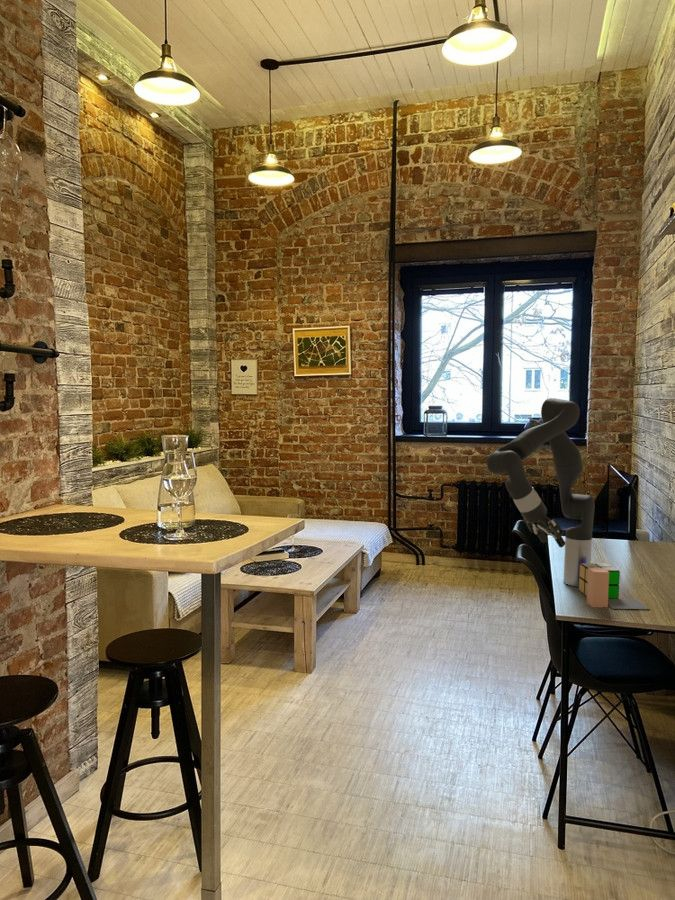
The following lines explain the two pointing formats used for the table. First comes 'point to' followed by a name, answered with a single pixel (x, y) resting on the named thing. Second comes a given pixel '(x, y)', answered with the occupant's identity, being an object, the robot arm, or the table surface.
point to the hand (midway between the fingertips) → (553, 543)
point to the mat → (626, 604)
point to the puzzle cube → (613, 578)
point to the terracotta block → (597, 587)
